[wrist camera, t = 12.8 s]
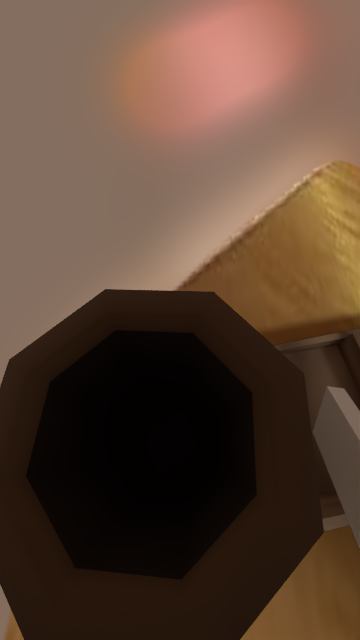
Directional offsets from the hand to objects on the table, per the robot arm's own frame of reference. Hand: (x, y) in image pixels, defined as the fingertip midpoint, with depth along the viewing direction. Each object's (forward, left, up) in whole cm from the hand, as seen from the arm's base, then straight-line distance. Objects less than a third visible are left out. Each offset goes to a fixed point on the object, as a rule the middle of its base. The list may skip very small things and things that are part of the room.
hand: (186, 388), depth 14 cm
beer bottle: (0, +2, -13) cm, 13 cm away
